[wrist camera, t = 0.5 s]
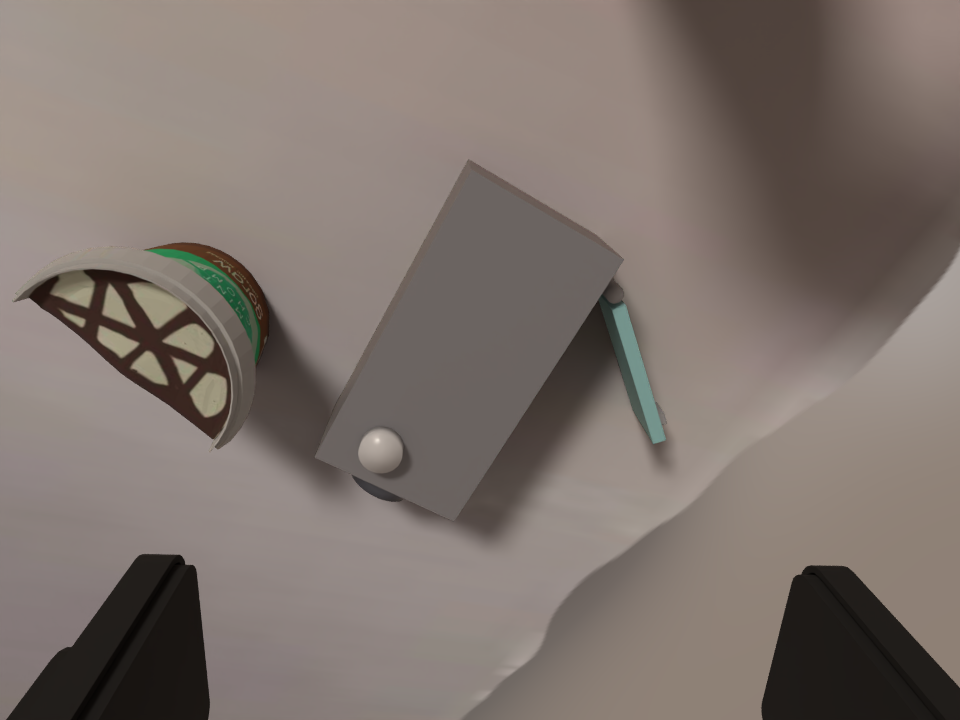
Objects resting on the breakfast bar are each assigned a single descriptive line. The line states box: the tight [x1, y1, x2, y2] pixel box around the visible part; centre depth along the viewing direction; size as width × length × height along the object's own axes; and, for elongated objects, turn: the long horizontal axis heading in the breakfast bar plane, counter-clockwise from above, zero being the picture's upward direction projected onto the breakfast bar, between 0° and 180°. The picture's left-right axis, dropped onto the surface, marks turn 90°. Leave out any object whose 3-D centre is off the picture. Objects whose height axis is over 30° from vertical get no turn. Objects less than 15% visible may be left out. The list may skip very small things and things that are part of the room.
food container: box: [12, 243, 269, 452], centre depth 36 cm, size 12×6×10 cm, turn 44°
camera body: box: [314, 159, 624, 522], centre depth 39 cm, size 20×10×8 cm, turn 150°
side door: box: [598, 279, 667, 444], centre depth 40 cm, size 10×2×5 cm, turn 20°
